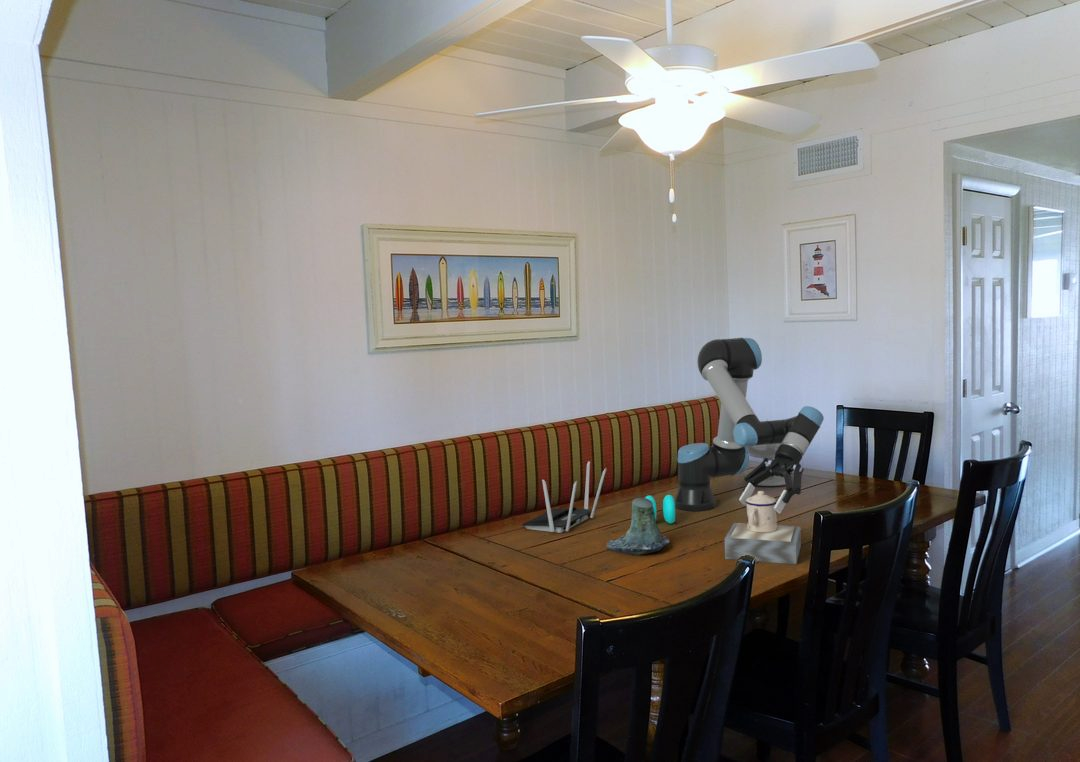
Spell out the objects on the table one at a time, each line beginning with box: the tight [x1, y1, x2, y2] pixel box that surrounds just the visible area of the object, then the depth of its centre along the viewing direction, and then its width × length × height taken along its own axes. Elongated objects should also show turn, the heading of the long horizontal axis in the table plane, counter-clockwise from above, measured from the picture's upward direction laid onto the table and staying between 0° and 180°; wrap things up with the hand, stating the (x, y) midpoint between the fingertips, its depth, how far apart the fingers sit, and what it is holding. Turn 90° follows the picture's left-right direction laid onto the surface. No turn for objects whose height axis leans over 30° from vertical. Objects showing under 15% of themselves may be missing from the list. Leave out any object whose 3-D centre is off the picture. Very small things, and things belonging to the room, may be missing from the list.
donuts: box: [644, 494, 676, 524], centre depth 266 cm, size 10×10×10 cm
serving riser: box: [724, 522, 802, 565], centre depth 228 cm, size 20×18×6 cm
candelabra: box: [746, 443, 786, 487], centre depth 320 cm, size 34×35×27 cm
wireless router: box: [521, 461, 607, 534], centre depth 269 cm, size 34×23×20 cm
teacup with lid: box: [746, 490, 778, 533], centre depth 228 cm, size 12×9×12 cm
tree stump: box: [606, 497, 670, 556], centre depth 238 cm, size 19×21×19 cm
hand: (759, 506), depth 228 cm, fingers open, 13 cm apart
